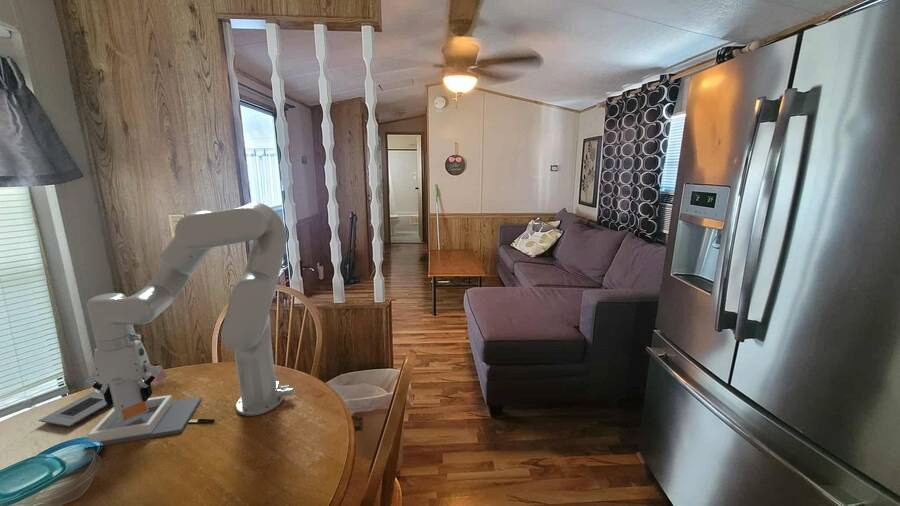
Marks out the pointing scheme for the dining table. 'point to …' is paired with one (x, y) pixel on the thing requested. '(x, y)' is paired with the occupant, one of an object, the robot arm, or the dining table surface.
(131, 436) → the holder board
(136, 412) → the skincare box
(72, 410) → the grey slotted tray
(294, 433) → the dining table surface
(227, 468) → the dining table surface
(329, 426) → the dining table surface
